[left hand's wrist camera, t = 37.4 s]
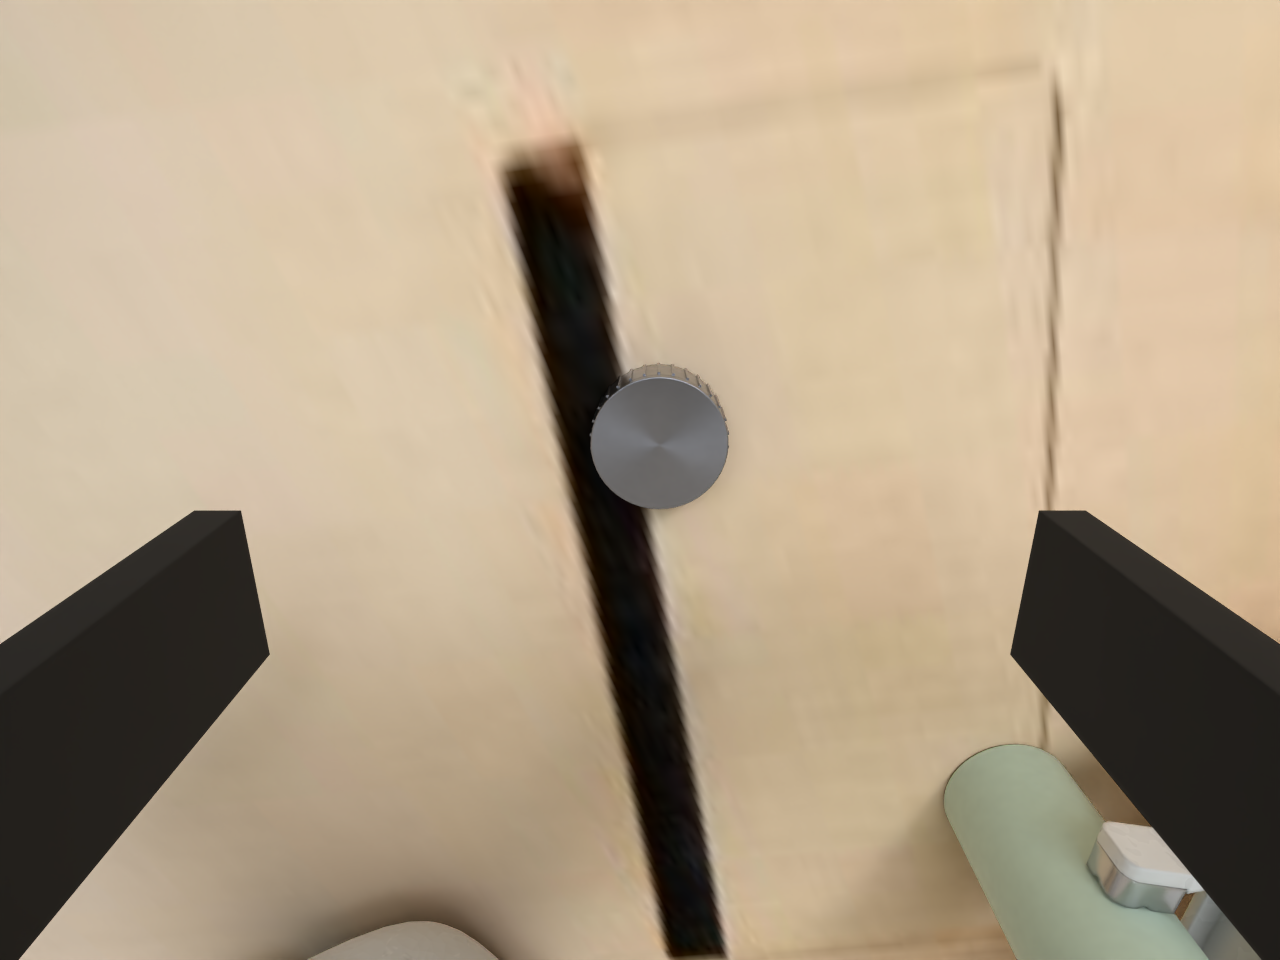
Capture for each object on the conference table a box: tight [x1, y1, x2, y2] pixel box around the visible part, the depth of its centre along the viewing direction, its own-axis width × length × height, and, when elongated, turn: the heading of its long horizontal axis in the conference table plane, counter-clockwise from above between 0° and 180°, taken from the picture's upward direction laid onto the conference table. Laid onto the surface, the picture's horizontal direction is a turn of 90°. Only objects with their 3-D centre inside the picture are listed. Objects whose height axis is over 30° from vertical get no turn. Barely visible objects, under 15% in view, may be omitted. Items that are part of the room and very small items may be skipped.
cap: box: [590, 363, 729, 509], centre depth 23 cm, size 4×4×2 cm
